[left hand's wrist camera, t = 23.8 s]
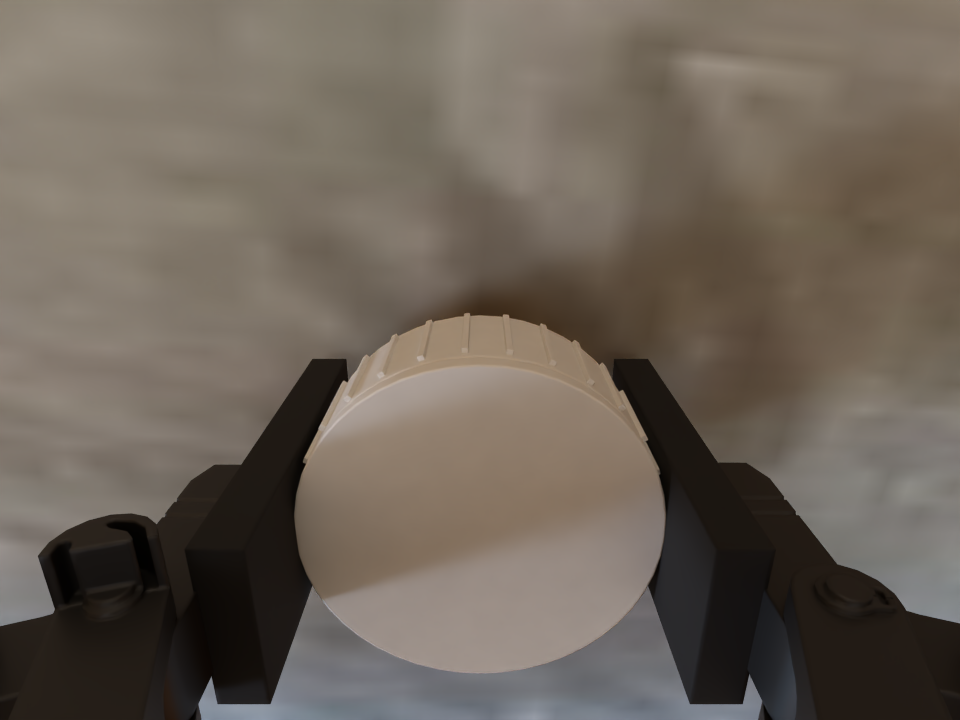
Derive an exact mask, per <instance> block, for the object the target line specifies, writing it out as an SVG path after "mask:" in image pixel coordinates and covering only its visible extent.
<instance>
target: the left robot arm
mask: <svg viewBox="0 0 960 720" xmlns="http://www.w3.org/2000/svg"><path fill="white" fill-rule="evenodd" d="M612 380H613V382H614V384H615V386H616V388H617V389H618V391H619V392H620V391H622V390H623V391H624V393H625V395H626V397H627V399H628V401H629V403H630V405H631V407H632V409H633V411H634V413H635V415H636V417H637V419H638V421H639V422H640V424H641V426H642V428H643V430H644V432H645V434H646V436H647V438H648V440H647V441H646V443H647V445H648V447H649V449H650V451H651V453H652V455H653V457H654V459H655V461H656V463H657V465H658V467H659V469H660V475H659V478H660V481H661V485H662V489H663V492H664V498H665V507H666V527H665V535H664V542H663V548H662V553H661V557H660V560H659V562H658V565H657V568H656V570H655V573H654V575H653V577H652V579H651V581H650V583H649V584H648V587H649V589H650V592H651V595H652V598H653V601H654V604H655V606H656V609H657V612H658V615H659V618H660V621H661V623H662V626H663V629H664V632H665V635H666V638H667V640H668V643H669V646H670V649H671V652H672V655H673V657H674V660H675V663H676V666H677V669H678V672H679V674H680V677H681V680H682V683H683V686H684V689H685V691H686V694H687V697H688V700H689V703H690V704H743V700H744V696H745V691H746V687H747V682H748V677H749V674H750V676H751V678H752V680H753V682H754V684H755V687H756V689H757V691H758V693H759V695H760V697H761V699H762V705H761V710H760V714H759V718H758V720H960V624H959V623H955V622H950V621H946V620H941V619H937V618H932V617H928V616H923V615H919V614H915V613H912V612H908V611H906V609H905V608H904V606H903V605H902V603H901V602H900V601H899V599H898V598H897V596H896V595H895V594H894V593H893V592H892V591H890V590H889V589H888V588H887V587H885V586H884V585H883V584H882V583H880V582H879V581H878V580H876V579H874V578H872V577H870V576H868V575H866V574H864V573H862V572H860V571H858V570H855V569H851V568H848V567H844V566H841V565H837V563H836V562H835V561H834V560H833V558H832V557H831V556H830V554H829V553H828V552H827V551H826V549H825V548H824V547H823V546H822V544H821V543H820V542H819V540H818V539H817V538H816V537H815V535H814V534H813V533H812V532H811V530H810V529H809V528H808V527H807V525H806V524H805V523H804V521H803V520H802V519H801V518H800V516H799V515H796V511H795V510H794V509H793V507H792V506H791V505H790V504H789V502H788V501H787V500H784V496H783V495H782V493H781V492H780V491H779V490H778V488H777V487H776V486H775V485H774V483H773V482H772V481H771V479H770V478H768V477H767V476H765V475H764V474H762V473H761V472H759V471H758V470H756V469H755V468H753V467H752V466H750V465H749V464H747V463H718V462H717V461H716V459H715V458H714V456H713V455H712V453H711V452H710V451H709V449H708V448H707V446H706V445H705V443H704V442H703V440H702V439H701V437H700V436H699V434H698V433H697V431H696V430H695V428H694V427H693V425H692V424H691V422H690V421H689V419H688V418H687V416H686V415H685V413H684V412H683V410H682V409H681V408H680V406H679V405H678V403H677V402H676V400H675V399H674V397H673V396H672V394H671V393H670V391H669V390H668V388H667V387H666V385H665V384H664V382H663V381H662V379H661V378H660V376H659V375H658V373H657V372H656V370H655V369H654V367H653V366H652V365H651V363H650V362H649V360H648V359H614V367H613V379H612ZM343 381H346V382H347V383H348V374H347V362H346V359H312V361H311V362H310V364H309V365H308V367H307V368H306V370H305V371H304V373H303V374H302V376H301V377H300V378H299V380H298V381H297V383H296V384H295V386H294V387H293V389H292V390H291V392H290V393H289V395H288V396H287V398H286V399H285V401H284V402H283V404H282V405H281V407H280V408H279V410H278V411H277V413H276V414H275V416H274V417H273V419H272V420H271V421H270V423H269V424H268V426H267V427H266V429H265V430H264V432H263V433H262V435H261V436H260V438H259V439H258V441H257V442H256V444H255V445H254V447H253V448H252V450H251V451H250V453H249V454H248V456H247V457H246V459H245V460H244V462H243V463H242V465H214V466H212V467H211V468H209V469H208V470H206V471H205V472H203V473H202V474H200V475H199V476H197V477H196V478H194V479H193V480H191V481H190V483H189V484H188V485H187V486H186V488H185V489H184V490H183V492H182V493H181V494H180V495H179V497H178V498H177V502H174V503H173V504H172V506H171V507H170V508H169V509H168V511H167V512H166V513H165V517H162V518H161V520H160V521H159V522H158V524H156V523H154V522H153V521H152V520H151V519H149V518H148V517H146V516H141V515H136V514H116V515H108V516H104V517H100V518H97V519H93V520H89V521H86V522H84V523H82V524H80V525H77V526H75V527H73V528H71V529H68V530H66V531H65V532H63V533H62V534H61V535H59V536H58V537H56V538H55V539H53V540H52V541H50V542H49V543H48V544H47V546H46V547H45V548H44V549H43V550H42V552H41V553H40V554H39V555H38V558H39V561H40V564H41V567H42V570H43V573H44V577H45V580H46V583H47V586H48V589H49V592H50V595H51V598H52V601H53V604H54V607H55V611H54V613H53V614H51V615H47V616H44V617H40V618H36V619H31V620H27V621H22V622H18V623H13V624H9V625H4V626H0V720H201V714H200V710H199V705H198V703H199V701H200V699H201V697H202V695H203V693H204V691H205V688H206V686H207V684H208V682H209V680H210V678H211V676H212V680H213V685H214V689H215V694H216V699H217V703H218V704H271V701H272V698H273V695H274V692H275V690H276V687H277V684H278V681H279V678H280V675H281V673H282V670H283V667H284V664H285V661H286V658H287V656H288V653H289V650H290V647H291V644H292V642H293V639H294V636H295V633H296V630H297V627H298V625H299V622H300V619H301V616H302V613H303V610H304V608H305V605H306V602H307V599H308V596H309V593H310V591H311V588H312V583H311V582H310V580H309V578H308V576H307V574H306V572H305V569H304V566H303V564H302V561H301V558H300V556H299V551H298V544H297V537H296V529H295V521H294V510H295V500H296V493H297V489H298V485H299V482H300V478H301V474H302V472H303V470H304V468H305V465H306V464H305V463H303V460H304V457H305V455H306V453H307V451H308V449H309V447H310V445H311V444H312V442H313V440H314V438H315V436H316V434H317V432H318V430H319V429H318V428H319V426H320V424H321V422H322V421H323V419H324V417H325V415H326V413H327V411H328V409H329V407H330V405H331V403H332V401H333V399H334V397H335V395H336V393H337V391H338V389H339V387H340V385H341V384H342V382H343Z"/></svg>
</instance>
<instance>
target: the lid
mask: <svg viewBox="0 0 960 720" xmlns="http://www.w3.org/2000/svg"><path fill="white" fill-rule="evenodd" d="M318 429H319V430H318V432H317V434H316V436H315V438H314V440H313V442H312V444H311V445H310V447H309V449H308V451H307V453H306V455H305V457H304V460H303V463H305V464H306V465H305V468H304V470H303V472H302V474H301V478H300V482H299V485H298V489H297V493H296V500H295V510H294V521H295V529H296V537H297V544H298V551H299V556H300V558H301V561H302V564H303V566H304V569H305V572H306V574H307V576H308V578H309V580H310V582H311V583H312V585H313V587H314V589H315V591H316V592H317V594H318V595H319V596H320V598H321V599H322V600H323V602H324V603H325V604H326V606H327V607H328V608H329V609H330V610H331V611H332V612H333V613H334V615H335V616H336V617H337V618H338V619H339V620H340V621H341V622H342V623H343V624H345V625H346V626H347V627H348V628H350V629H351V630H352V631H353V632H355V633H356V634H357V635H358V636H360V637H361V638H363V639H364V640H366V641H368V642H369V643H371V644H372V645H374V646H376V647H377V648H379V649H381V650H383V651H385V652H388V653H390V654H392V655H394V656H396V657H398V658H401V659H404V660H407V661H409V662H412V663H415V664H418V665H422V666H426V667H430V668H434V669H439V670H446V671H453V672H462V673H500V672H508V671H515V670H522V669H527V668H531V667H535V666H539V665H543V664H546V663H549V662H551V661H554V660H557V659H560V658H563V657H565V656H567V655H569V654H571V653H573V652H575V651H578V650H580V649H582V648H584V647H585V646H587V645H589V644H590V643H592V642H593V641H595V640H596V639H598V638H600V637H601V636H603V635H604V634H605V633H606V632H608V631H609V630H610V629H611V628H612V627H614V626H615V625H616V624H617V623H618V622H619V621H620V620H621V619H622V618H623V617H624V616H625V615H626V614H627V613H628V612H629V611H630V610H631V609H632V608H633V607H634V605H635V604H636V603H637V601H638V600H639V599H640V597H641V596H642V595H643V593H644V592H645V590H646V588H647V586H648V584H649V583H650V581H651V579H652V577H653V575H654V573H655V570H656V568H657V565H658V562H659V560H660V557H661V553H662V548H663V542H664V535H665V527H666V507H665V498H664V492H663V489H662V485H661V481H660V478H659V475H660V469H659V467H658V465H657V463H656V461H655V459H654V457H653V455H652V453H651V451H650V449H649V447H648V445H647V443H646V441H647V440H648V438H647V436H646V434H645V432H644V430H643V428H642V426H641V424H640V422H639V421H638V419H637V417H636V415H635V413H634V411H633V409H632V407H631V405H630V403H629V401H628V399H627V397H626V395H625V393H624V391H623V390H622V391H620V392H619V391H618V389H617V388H616V386H615V384H614V382H613V380H612V378H611V376H610V374H609V372H608V370H607V368H606V366H605V365H604V364H603V363H601V364H600V365H599V364H598V363H597V362H596V361H595V360H594V359H593V358H592V357H591V356H589V355H588V354H587V353H586V352H585V351H584V350H583V349H581V347H580V344H579V342H577V341H576V340H574V341H573V342H571V341H569V340H568V339H566V338H565V337H563V336H561V335H559V334H557V333H555V332H553V331H550V330H548V329H547V327H546V325H544V324H542V323H541V324H540V326H538V325H535V324H532V323H529V322H526V321H522V320H517V319H511V318H509V315H505V314H503V317H498V316H482V315H478V316H470V313H464V316H462V317H454V318H449V319H444V320H439V321H435V322H432V320H428V321H426V324H425V325H422V326H419V327H416V328H414V329H412V330H410V331H408V332H406V333H404V334H402V335H400V336H398V335H397V334H395V335H393V336H392V337H391V340H390V342H388V343H387V344H385V345H384V346H382V347H381V348H379V349H378V350H377V351H376V352H375V353H373V354H372V355H371V356H370V357H369V356H368V355H365V356H364V357H363V359H362V361H361V363H360V365H359V367H358V369H357V370H356V372H355V373H354V374H353V375H352V376H351V378H350V379H349V381H348V383H347V382H346V381H343V382H342V384H341V385H340V387H339V389H338V391H337V393H336V395H335V397H334V399H333V401H332V403H331V405H330V407H329V409H328V411H327V413H326V415H325V417H324V419H323V421H322V422H321V424H320V426H319V428H318Z"/></svg>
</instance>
